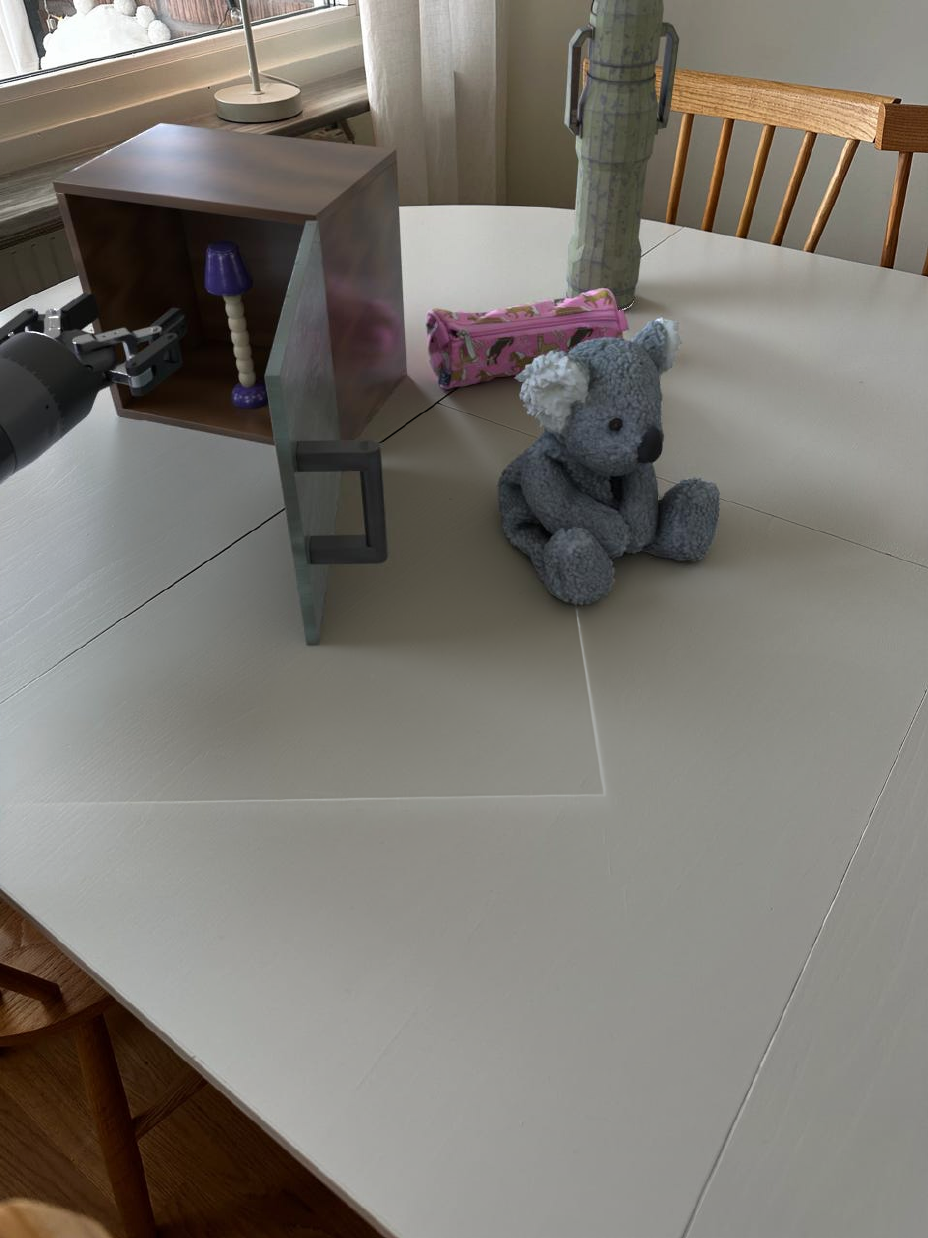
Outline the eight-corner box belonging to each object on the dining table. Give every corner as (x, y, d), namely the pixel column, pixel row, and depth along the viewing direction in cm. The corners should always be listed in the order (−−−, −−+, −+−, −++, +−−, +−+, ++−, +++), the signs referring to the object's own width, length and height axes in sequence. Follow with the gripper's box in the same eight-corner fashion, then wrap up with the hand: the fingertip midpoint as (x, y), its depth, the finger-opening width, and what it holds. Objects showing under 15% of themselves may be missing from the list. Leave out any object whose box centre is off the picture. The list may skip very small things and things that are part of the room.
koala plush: (568, 626, 79) (588, 415, 66) (452, 514, 91) (449, 314, 77) (726, 554, 86) (773, 350, 73) (600, 459, 97) (621, 266, 84)
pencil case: (441, 407, 105) (439, 330, 99) (422, 366, 111) (419, 291, 105) (628, 381, 109) (637, 305, 103) (598, 343, 115) (606, 270, 109)
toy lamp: (272, 410, 102) (247, 252, 91) (226, 413, 102) (196, 256, 91) (271, 387, 106) (247, 233, 95) (227, 390, 105) (199, 236, 94)
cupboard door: (401, 461, 97) (388, 219, 81) (391, 644, 78) (371, 374, 62) (332, 462, 97) (305, 220, 81) (306, 645, 78) (264, 375, 62)
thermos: (543, 290, 126) (560, -32, 102) (627, 279, 128) (663, -38, 105) (568, 320, 120) (593, -16, 96) (657, 307, 122) (701, -23, 99)
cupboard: (341, 459, 97) (315, 215, 81) (117, 415, 104) (51, 180, 87) (407, 375, 110) (396, 148, 94) (203, 340, 116) (160, 122, 100)
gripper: (83, 375, 67) (203, 279, 78) (-86, 343, 70) (52, 255, 82) (110, 466, 72) (219, 364, 83) (-49, 432, 75) (76, 338, 87)
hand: (136, 310), depth 82 cm, fingers open, 8 cm apart
